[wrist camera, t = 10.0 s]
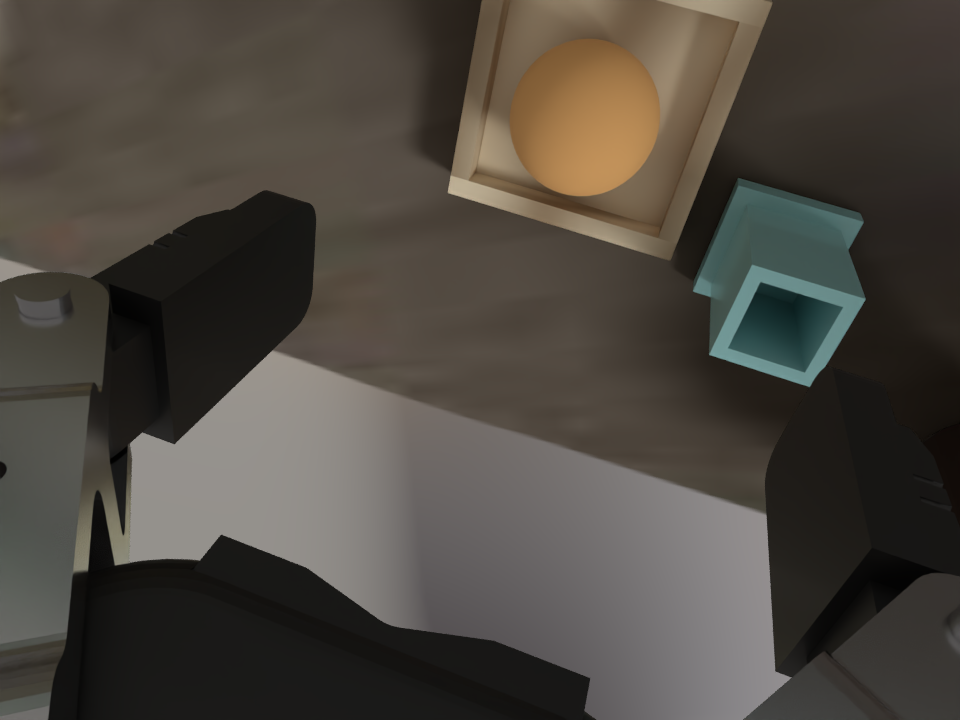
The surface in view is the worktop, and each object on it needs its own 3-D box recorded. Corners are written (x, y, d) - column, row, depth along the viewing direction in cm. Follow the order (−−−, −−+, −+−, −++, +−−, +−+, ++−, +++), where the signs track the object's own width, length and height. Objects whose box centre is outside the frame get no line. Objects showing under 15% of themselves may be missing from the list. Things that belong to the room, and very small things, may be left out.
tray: (769, -4, 26) (772, 2, 24) (672, 242, 31) (670, 260, 30) (508, -71, 27) (494, -69, 25) (461, 178, 32) (447, 192, 31)
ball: (686, 50, 26) (678, 78, 22) (639, 187, 30) (623, 236, 25) (547, 12, 27) (511, 32, 23) (515, 150, 30) (478, 191, 26)
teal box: (860, 212, 28) (894, 288, 23) (803, 315, 31) (821, 405, 26) (737, 177, 29) (741, 243, 23) (693, 281, 32) (687, 362, 26)
